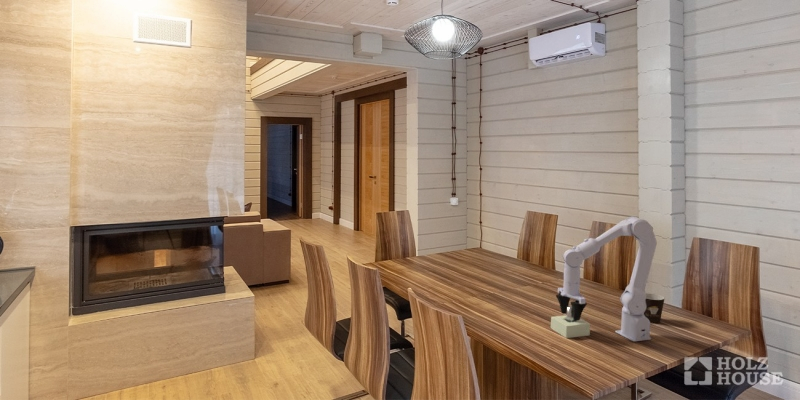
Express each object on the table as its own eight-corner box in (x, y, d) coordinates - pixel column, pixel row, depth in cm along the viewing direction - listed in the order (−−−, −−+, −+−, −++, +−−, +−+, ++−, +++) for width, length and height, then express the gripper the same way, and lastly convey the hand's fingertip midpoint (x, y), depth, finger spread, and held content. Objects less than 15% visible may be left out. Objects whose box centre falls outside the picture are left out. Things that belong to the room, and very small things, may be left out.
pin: (576, 328, 174) (577, 307, 173) (569, 329, 173) (570, 308, 172) (570, 325, 177) (571, 305, 176) (564, 326, 176) (565, 306, 175)
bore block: (589, 335, 171) (590, 323, 171) (566, 338, 169) (566, 326, 168) (573, 325, 181) (573, 314, 180) (550, 328, 178) (551, 316, 178)
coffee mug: (665, 320, 186) (667, 296, 185) (659, 326, 180) (661, 301, 179) (634, 313, 194) (636, 290, 193) (628, 318, 188) (629, 295, 187)
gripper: (551, 277, 179) (550, 311, 180) (574, 287, 165) (572, 324, 166) (567, 276, 181) (565, 309, 182) (591, 286, 167) (589, 322, 168)
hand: (570, 316), depth 174 cm, fingers open, 7 cm apart
